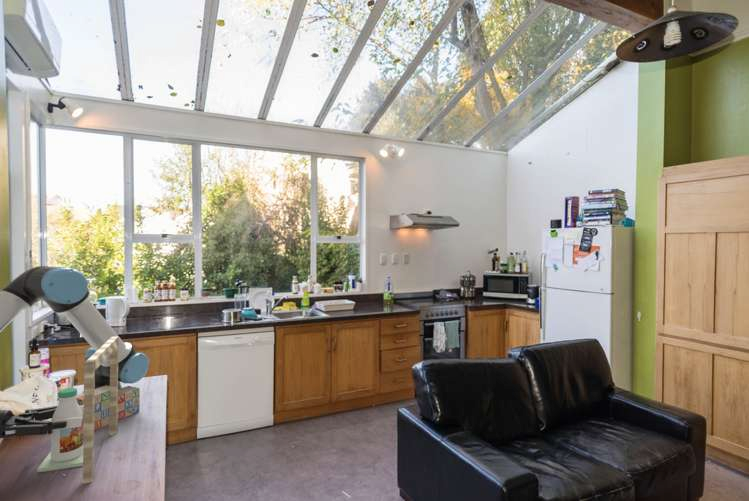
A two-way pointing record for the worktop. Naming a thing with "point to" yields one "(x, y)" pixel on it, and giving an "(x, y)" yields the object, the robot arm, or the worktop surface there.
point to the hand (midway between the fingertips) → (85, 415)
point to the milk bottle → (70, 439)
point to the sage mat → (59, 463)
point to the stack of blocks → (126, 404)
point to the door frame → (89, 394)
